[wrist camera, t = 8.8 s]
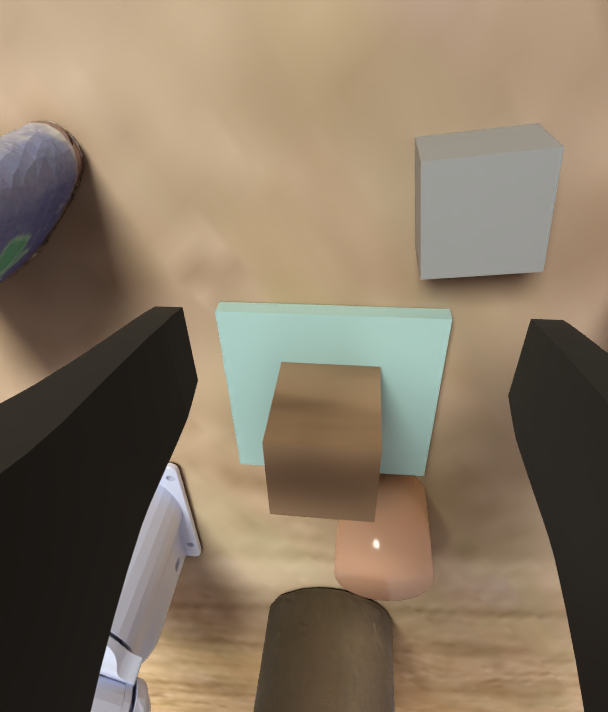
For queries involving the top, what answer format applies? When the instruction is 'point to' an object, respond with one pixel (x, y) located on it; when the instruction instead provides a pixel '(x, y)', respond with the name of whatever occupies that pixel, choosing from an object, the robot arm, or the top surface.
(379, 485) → the peach domed cylinder
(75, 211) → the top surface
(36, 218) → the flask
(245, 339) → the coaster
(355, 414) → the walnut block
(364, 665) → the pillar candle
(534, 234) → the grey square block
